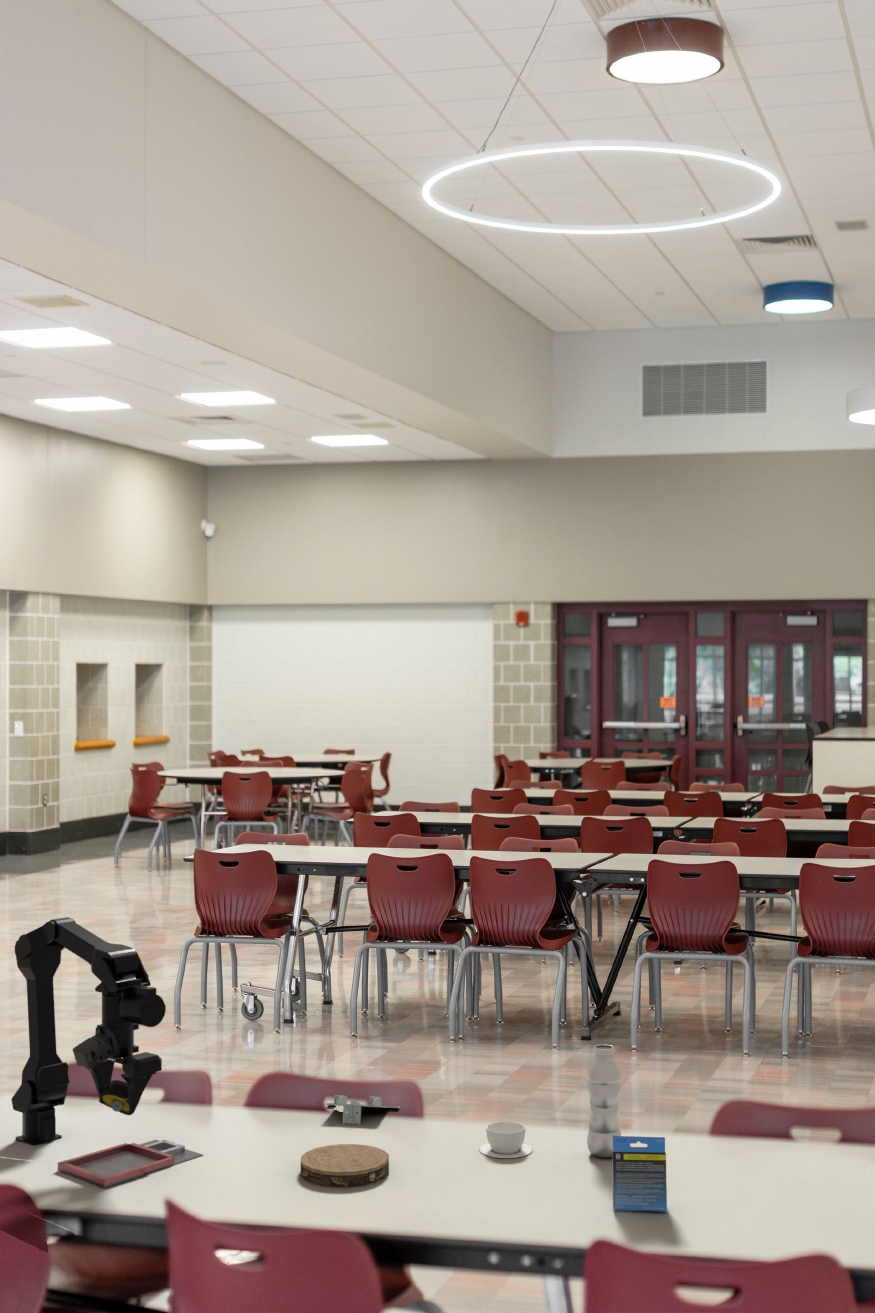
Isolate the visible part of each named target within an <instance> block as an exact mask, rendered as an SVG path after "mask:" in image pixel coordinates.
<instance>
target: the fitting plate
mask: <svg viewBox="0 0 875 1313" xmlns="http://www.w3.org/2000/svg"><path fill="white" fill-rule="evenodd" d="M203 1156H204V1154H202V1153H200V1152H196V1151H193V1150H190V1149H187V1148H186V1146H185V1145H183V1144H180V1143H178V1142H173V1141H169V1140H166V1139H162V1140H158V1139H153V1140H149V1141H147V1142H144V1143H139V1144H138V1143H135V1142H131V1143H127V1142H124V1143H121V1144H118V1145H115V1146H110V1147H108V1148H104V1149H100V1150H97V1151H93V1152H90V1153H86V1154H84V1155H80V1156H76V1157H74V1158H73V1157H72V1158H69V1159H67V1160H62V1161H59V1162H58V1161H57V1172H59V1173H62V1174H64V1175H66V1174H67V1176H69V1175H70V1177H72V1178H74V1179H77V1180H80V1181H82V1180H83V1181H82V1182H85V1181H86V1183H89V1184H90V1185H94V1186H96V1187H99V1188H102V1189H104V1190H105V1189H108V1188H110V1187H111V1188H112V1187H114V1186H117V1185H118V1186H119V1185H121V1184H124V1183H127V1182H131V1181H133V1180H137V1179H139V1178H143V1177H146V1176H149V1175H150V1174H151V1173H154V1172H157V1171H160V1170H164V1169H166V1168H169V1167H172V1166H176V1165H179V1164H181V1163H185V1162H188V1161H191V1160H193V1159H194V1160H195V1159H197V1158H200V1157H203Z"/></svg>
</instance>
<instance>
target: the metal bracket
mask: <svg viewBox="0 0 875 1313" xmlns="http://www.w3.org/2000/svg"><path fill="white" fill-rule="evenodd" d="M347 1102H348V1096H347V1095H343V1094H340V1095H339V1094H337V1095H336V1094H335V1095H334V1097H333V1102H331V1103H330V1102H329V1103H328V1102H326V1103H325V1105H327V1106H339V1107H342V1106H343V1108H342V1109H343V1110H342V1125H343V1124H346V1125H347V1124H348V1125H361V1120H362V1119H361V1118H362V1107H363V1108H364V1107H366V1108H367V1107H368V1108H382V1109H383V1108H385V1109H387V1108H388V1109H390V1108H391V1109H401V1106H399V1105H397V1106H396V1105H382V1096H370V1097H369V1104H360V1102H359V1101H356V1100H354V1099H351V1100H350V1103H347Z"/></svg>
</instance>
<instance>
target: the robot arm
mask: <svg viewBox="0 0 875 1313" xmlns="http://www.w3.org/2000/svg"><path fill="white" fill-rule="evenodd" d="M64 949H67V950H68V951H69V952H71V953H73V954H74V955H76V956H77V957H79V958H80V959H81V960H84V961H85V962H86V963H88V964H89V965H90V968H91V973H92V974H93V975H94V976H95V977H96V978H97V979H98V980H99V981H100V983H99V984H97V986H96V987H95V988H94V991H95V992H97V993H101V1024H97V1025H96V1027H95V1034H94V1035H93V1036H91V1037H89V1038H87V1039H85V1040H83V1041H82V1042H80V1043H78V1044H77V1045H76V1046H75V1047H73V1048H72V1053H73V1056H74V1060H75V1062H76V1065H77V1066H78V1067H84V1068H85V1069H86V1070H88V1071H89V1072H90V1075H91V1076H92V1079H93V1083H94V1085H95V1088H96V1092H97V1095H98V1097H99V1098H100V1096H101V1095H102V1093H103V1091H104V1087H105V1085H106V1084H107V1083H109V1082H110V1081H112V1077H113V1076H112V1075H113V1072H114V1067H115V1063H117V1064H119V1065H121V1066H122V1067H121V1070H122V1071H123V1073H122V1074H120V1076H121V1078H122V1079H123V1080H124V1082H126V1083H127V1093H128V1104H129V1110H134V1109H135V1108H136V1109H137V1107H138V1106H137V1104H138V1105H139V1103H140V1101H141V1097H142V1095H143V1094H144V1091H145V1089H146V1087H147V1085H148V1084H149V1082H150V1080H151V1078H152V1076H153V1075H157V1073H158V1072H161V1071H162V1069H163V1067H162V1064H163V1062H162V1061H163V1060H162V1058H161V1056H160V1055H158V1054H155V1053H153V1052H152V1053H151V1052H147V1051H145V1052H139V1051H140V1047H139V1045H135V1035H134V1034H135V1031H136V1030H140V1026H142V1027H147V1028H155V1027H156V1026H158V1025H159V1024H161V1022H162V1020H164V1018H165V1015H166V1009H167V1006H166V1004H165V1000H164V999H163V997H162V996H160V995H159V994H157V987H154V986H151V985H152V984H151V982H150V981H151V980H150V979H149V977H150V976H149V974H148V972H147V971H146V969H145V967H144V964H143V962H142V960H141V957H140V955H139V952H137V950H136V949H135V948H133V947H130V946H128V945H124V944H120V943H113V942H112V943H111V942H109V941H106V940H104V939H102V938H101V937H99V936H97V935H96V934H94V933H93V932H92V931H90V930H88V929H87V928H85V927H83V926H81V925H80V924H78V923H76V920H74V918H72V917H61V918H54V919H49V921H46V922H45V923H43V925H42V926H39V927H38V928H35V929H33V930H32V931H29V932H27V933H25V934H21V935H20V936H19V937H18V939H17V940H16V941H15V944H14V954H15V958H16V959H15V960H16V965H17V966H16V967H17V968H18V970H19V971H20V973H21V974H22V975H23V977H24V979H25V982H26V999H27V1020H28V1039H29V1040H28V1041H29V1042H28V1043H29V1057H28V1059H27V1060H26V1063H25V1065H24V1066H23V1069H22V1071H21V1084H20V1086H19V1087H18V1088H17V1091H16V1092H15V1093H14V1095H13V1096H12V1097H11V1099H10V1100H11V1105H12V1110H13V1111H15V1112H19V1113H21V1114H22V1116H21V1117H22V1118H21V1119H22V1123H21V1124H22V1126H21V1127H22V1132H21V1133H22V1134H21V1135H19V1136H15V1141H19V1142H20V1143H21V1142H22V1143H24V1144H27V1145H30V1146H33V1147H34V1146H35V1147H36V1146H39V1145H42V1144H46V1143H49V1142H52V1141H57V1140H59V1139H62V1138H63V1135H61V1134H57V1133H56V1129H57V1126H56V1124H57V1123H56V1120H57V1119H56V1107H58V1106H63V1105H64V1104H65V1101H66V1097H67V1092H68V1090H69V1084H70V1079H69V1065H68V1063H67V1061H65V1062H64V1061H63V1060H62V1059H61V1058H60V1056H59V1055H58V1053H57V1052H58V1051H57V1037H56V1036H57V1034H56V1014H55V1013H56V1012H55V1011H56V1010H55V993H54V992H55V991H54V990H55V988H54V977H55V975H56V973H57V971H58V969H59V967H60V965H61V963H62V951H63V950H64ZM135 1053H136V1054H135ZM139 1100H140V1101H139ZM138 1102H139V1103H138ZM136 1106H137V1107H136ZM136 1109H135V1110H136Z"/></svg>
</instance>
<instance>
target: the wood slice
mask: <svg viewBox="0 0 875 1313" xmlns="http://www.w3.org/2000/svg"><path fill="white" fill-rule="evenodd" d="M389 1158H390V1155H389V1153H388V1152H386V1151H385V1150H384V1149H382V1148H380V1147H376V1146H371V1145H368V1144H358V1143H357V1144H355V1143H353V1144H352V1143H342V1144H341V1143H339V1144H329V1145H324V1146H319V1147H315V1148H313V1149H311V1150H308V1151H306V1152H305V1153H303V1154H302V1155H301V1156H300V1177H301V1178H302V1180H303V1181H305V1182H306V1183H309V1184H311V1185H313V1186H318V1187H323V1188H330V1189H331V1188H332V1189H353V1188H362V1187H367V1186H370V1185H374V1184H377V1183H379V1182H381V1181H384V1180H385V1179H386V1178H388V1176H389V1174H390V1159H389Z"/></svg>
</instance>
